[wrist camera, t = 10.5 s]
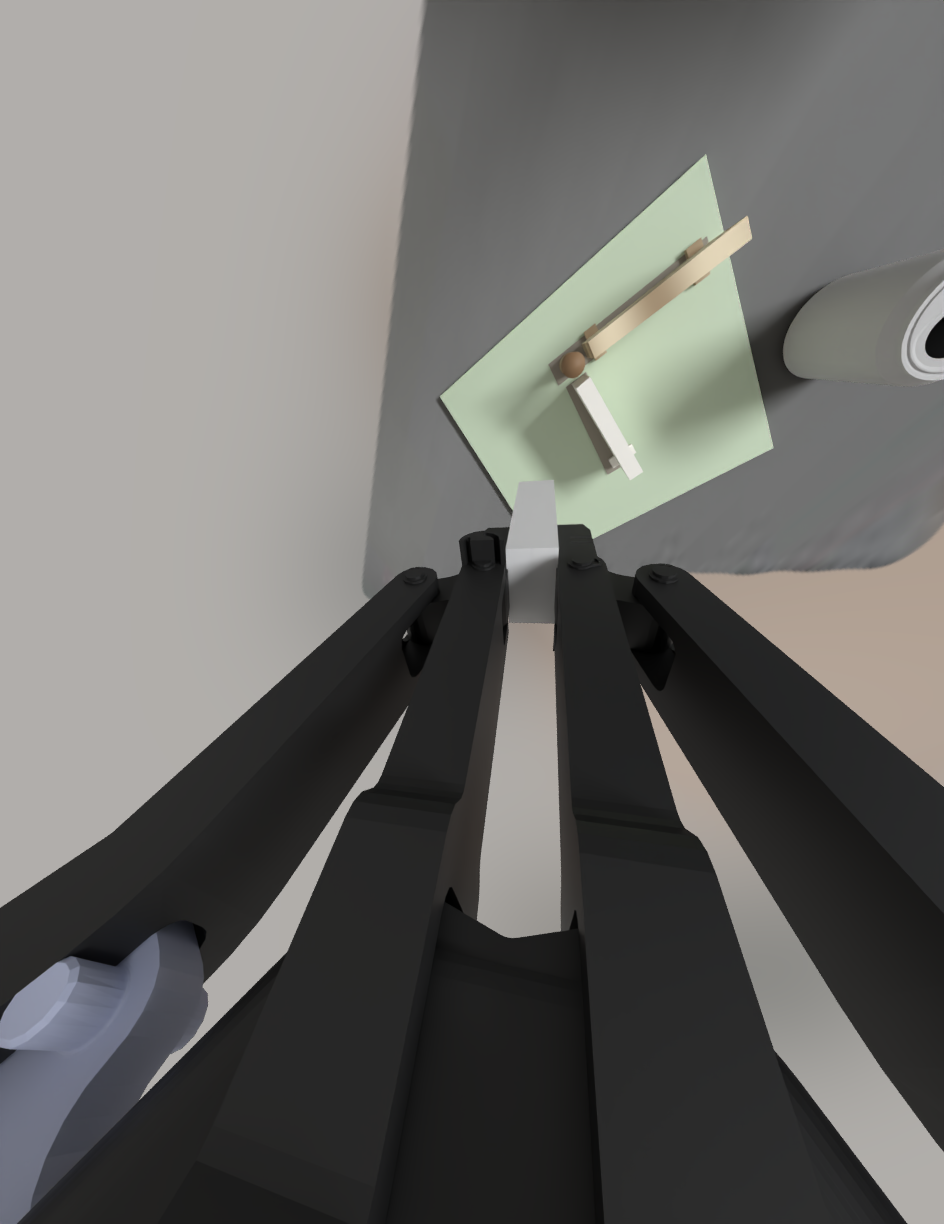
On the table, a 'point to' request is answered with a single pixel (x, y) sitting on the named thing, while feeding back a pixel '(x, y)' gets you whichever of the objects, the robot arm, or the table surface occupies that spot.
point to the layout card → (623, 376)
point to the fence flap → (607, 427)
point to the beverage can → (874, 326)
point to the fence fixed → (659, 295)
